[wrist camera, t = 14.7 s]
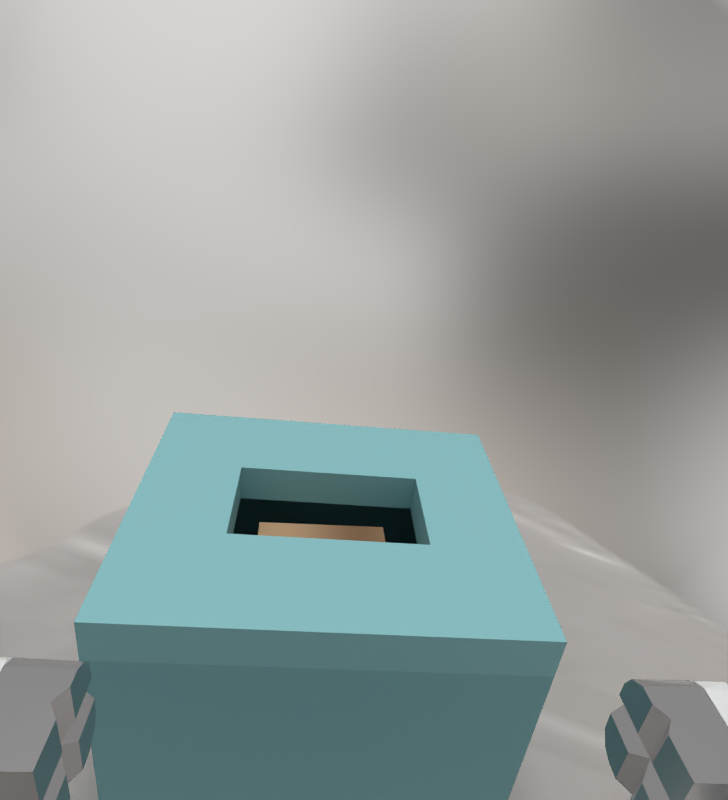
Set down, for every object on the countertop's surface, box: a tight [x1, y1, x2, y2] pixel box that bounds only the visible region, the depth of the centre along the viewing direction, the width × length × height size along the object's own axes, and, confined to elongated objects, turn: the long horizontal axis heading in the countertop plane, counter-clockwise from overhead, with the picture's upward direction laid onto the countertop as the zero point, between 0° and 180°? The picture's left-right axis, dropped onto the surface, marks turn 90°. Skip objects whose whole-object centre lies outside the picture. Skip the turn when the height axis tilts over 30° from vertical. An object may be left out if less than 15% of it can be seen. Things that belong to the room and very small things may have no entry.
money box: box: [74, 412, 567, 800], centre depth 25 cm, size 14×12×13 cm
